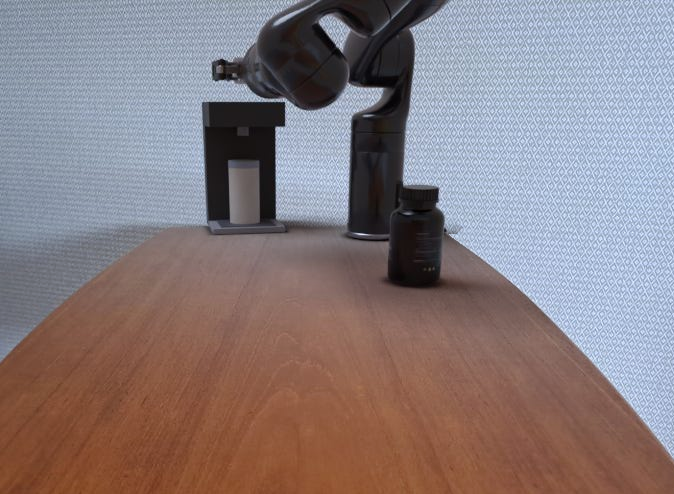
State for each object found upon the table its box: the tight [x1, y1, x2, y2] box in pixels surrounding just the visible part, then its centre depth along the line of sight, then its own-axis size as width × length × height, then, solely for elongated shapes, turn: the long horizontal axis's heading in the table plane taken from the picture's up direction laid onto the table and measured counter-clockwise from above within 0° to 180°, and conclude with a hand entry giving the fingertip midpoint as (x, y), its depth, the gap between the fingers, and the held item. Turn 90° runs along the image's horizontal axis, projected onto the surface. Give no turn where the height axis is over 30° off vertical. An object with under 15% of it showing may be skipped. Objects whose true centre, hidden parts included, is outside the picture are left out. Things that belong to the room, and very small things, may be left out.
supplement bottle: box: [386, 184, 446, 288], centre depth 86 cm, size 7×7×12 cm
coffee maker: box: [201, 101, 286, 235], centre depth 123 cm, size 13×13×22 cm
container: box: [228, 159, 260, 224], centre depth 124 cm, size 6×6×11 cm
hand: (255, 73), depth 103 cm, fingers open, 8 cm apart
